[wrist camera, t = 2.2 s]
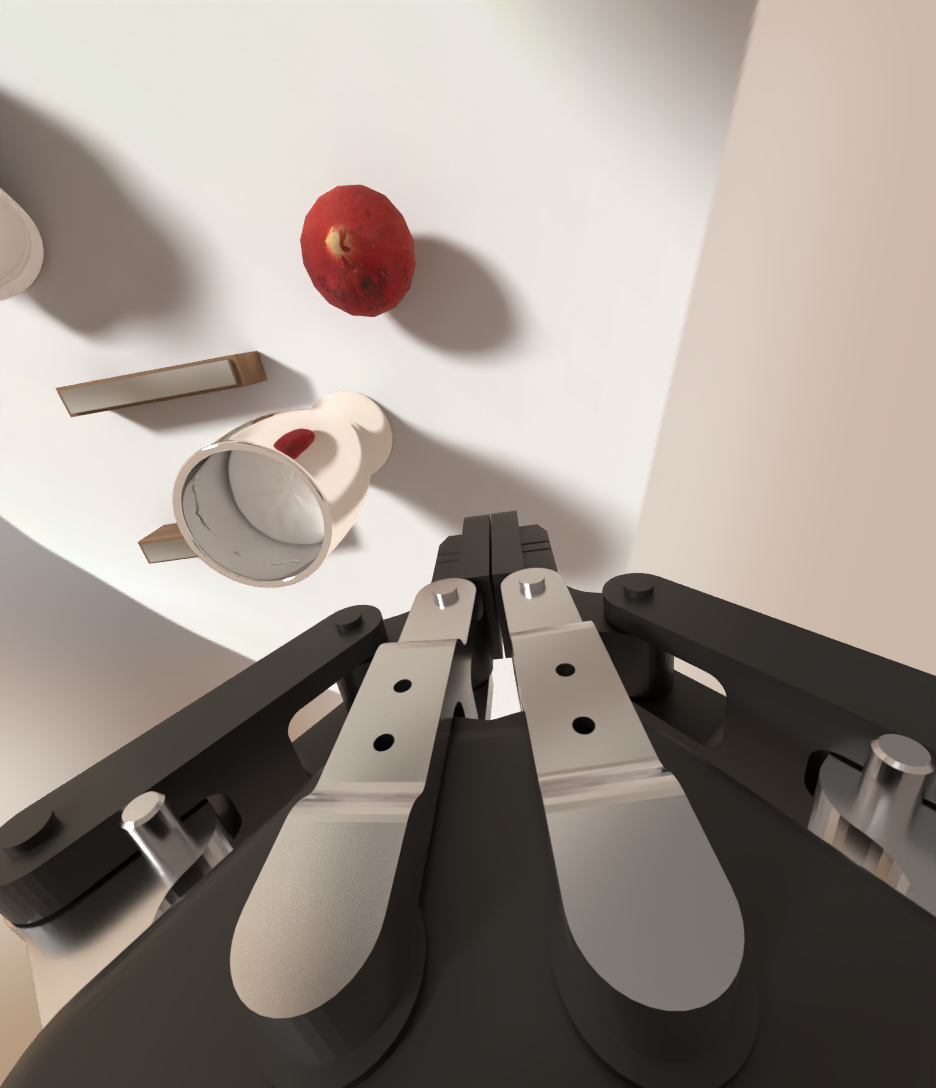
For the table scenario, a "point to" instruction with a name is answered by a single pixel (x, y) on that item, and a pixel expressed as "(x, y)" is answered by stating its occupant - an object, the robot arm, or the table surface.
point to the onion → (358, 250)
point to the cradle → (162, 387)
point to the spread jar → (17, 248)
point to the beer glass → (282, 489)
